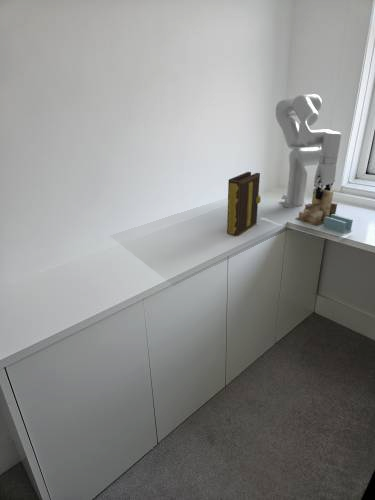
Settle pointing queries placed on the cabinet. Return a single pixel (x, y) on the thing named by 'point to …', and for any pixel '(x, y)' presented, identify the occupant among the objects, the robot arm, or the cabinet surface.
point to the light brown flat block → (323, 201)
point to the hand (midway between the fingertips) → (322, 197)
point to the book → (242, 203)
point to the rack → (315, 214)
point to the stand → (337, 223)
